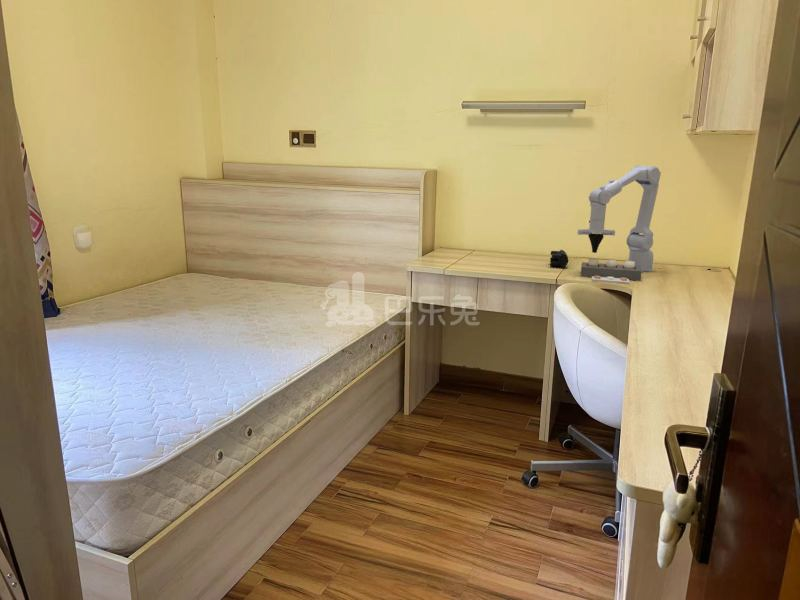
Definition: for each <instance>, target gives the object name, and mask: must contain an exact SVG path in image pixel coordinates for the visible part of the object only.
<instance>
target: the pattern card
mask: <svg viewBox="0 0 800 600" xmlns="http://www.w3.org/2000/svg"><path fill="white" fill-rule="evenodd" d="M591 282H598V283H610V284H625V285H630V280H629V279H627V278H624V277H621V278H614V277H611V276H608V277H601V276H597V275H595V276H592V277H591Z"/></svg>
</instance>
